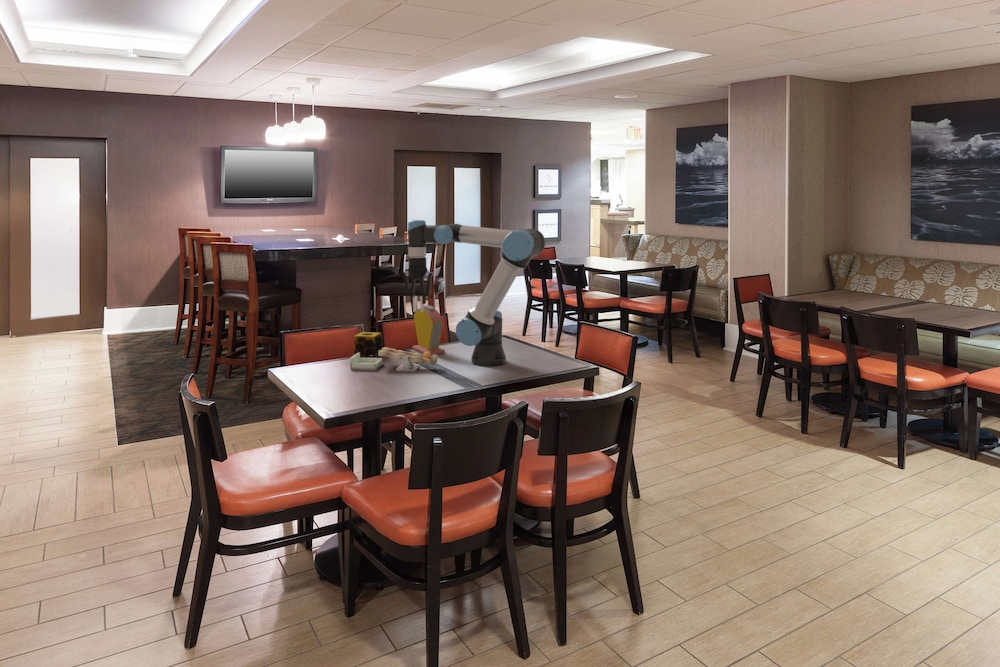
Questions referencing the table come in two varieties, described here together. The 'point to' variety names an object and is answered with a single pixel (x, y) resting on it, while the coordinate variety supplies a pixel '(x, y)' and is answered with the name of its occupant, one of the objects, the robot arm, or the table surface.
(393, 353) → the beige piece
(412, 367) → the fulcrum
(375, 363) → the tray
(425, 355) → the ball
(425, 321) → the pink yellow-faced device
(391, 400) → the table surface
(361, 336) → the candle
